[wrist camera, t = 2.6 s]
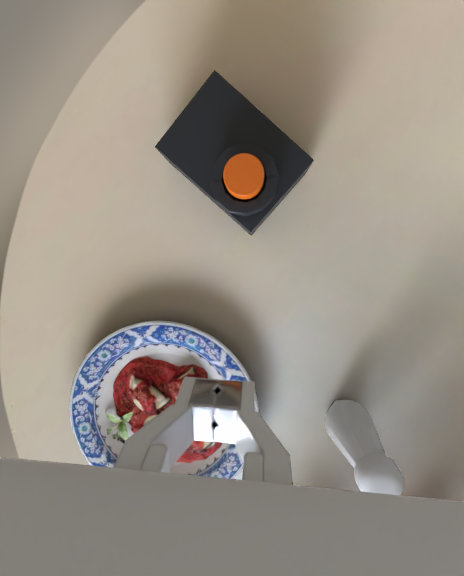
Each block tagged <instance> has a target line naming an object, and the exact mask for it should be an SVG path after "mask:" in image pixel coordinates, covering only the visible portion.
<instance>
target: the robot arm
mask: <svg viewBox="0 0 464 576" xmlns="http://www.w3.org/2000/svg"><path fill="white" fill-rule="evenodd" d="M254 403H255V382H254V381H243V384H242V381H234V380H219V379H209V378H198V377H197V378H196V377H186V376H185V377H184V379H183V381H182V384H181V387H180V390H179V393H178V396H177V399H176V402H175V405H170V406H169V407H168V408H166V409H165V410H164V411H162V412H161V413H160V414H159V415H157V416H156V417H155V418H153V419H152V420H151V421H150V422H148V423H147V424H146V425H144V426H143V427H142V428H141V429H139V430H138V431H137V432H136V433H134V434H133V435H132V436H130V437H129V438H128V439H127V440H126V441H125V443H124V445H123V447H122V450H121V452H120V454H119V456H118V458H117V460H116V462H115V465H114V467H113V468H111V467H101V466H91V465H80V464H70V463H59V462H49V461H39V460H28V459H18V458H7V457H0V576H464V501H454V500H444V499H433V498H423V497H413V496H402V495H392V494H381V493H371V492H361V491H350V490H340V489H329V488H319V487H309V486H298V485H293V482H292V471H291V461H290V454H289V453H288V452H287V450H286V449H285V448H284V446H283V445H282V444H281V442H280V441H279V440H278V438H277V437H276V436H275V434H274V433H273V432H272V430H271V429H270V427H269V426H268V425H267V423H266V422H265V421H264V419H263V418H262V417H261V415H260V414H259V413H258V412H255V411H254ZM193 440H196V441H215V442H222V443H231V444H235V446H236V448H237V450H238V452H239V454H240V456H241V458H242V460H243V462H244V464H243V478H242V480H236V479H226V478H216V477H205V476H195V475H184V474H174V473H170V468H171V467H172V466H173V465H174V463H175V462H176V461H177V460H178V459H179V458H180V457H181V455H182V454H183V453H184V452H185V451H186V450H187V448H188V447H189V446H190V445H191V444H192V443H193Z"/></svg>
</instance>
